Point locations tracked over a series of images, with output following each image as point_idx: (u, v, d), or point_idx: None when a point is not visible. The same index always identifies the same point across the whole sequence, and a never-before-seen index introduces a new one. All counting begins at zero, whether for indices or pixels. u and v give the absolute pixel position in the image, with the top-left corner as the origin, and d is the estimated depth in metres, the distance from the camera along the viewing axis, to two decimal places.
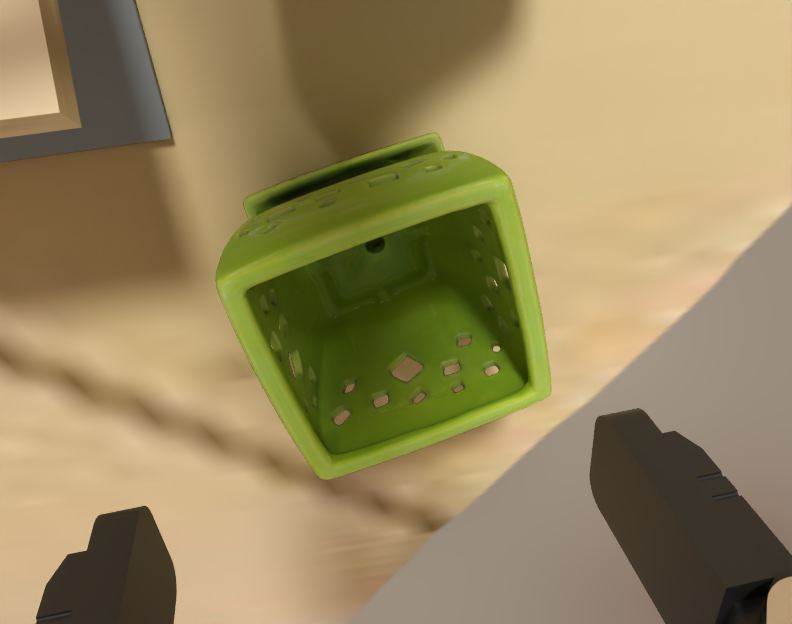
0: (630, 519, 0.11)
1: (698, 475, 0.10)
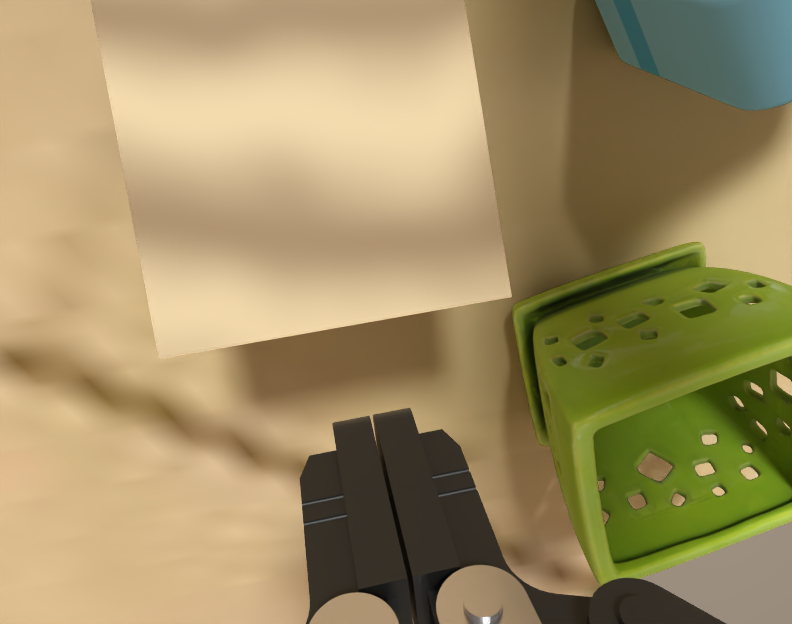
0: (391, 513, 0.11)
1: (445, 471, 0.11)
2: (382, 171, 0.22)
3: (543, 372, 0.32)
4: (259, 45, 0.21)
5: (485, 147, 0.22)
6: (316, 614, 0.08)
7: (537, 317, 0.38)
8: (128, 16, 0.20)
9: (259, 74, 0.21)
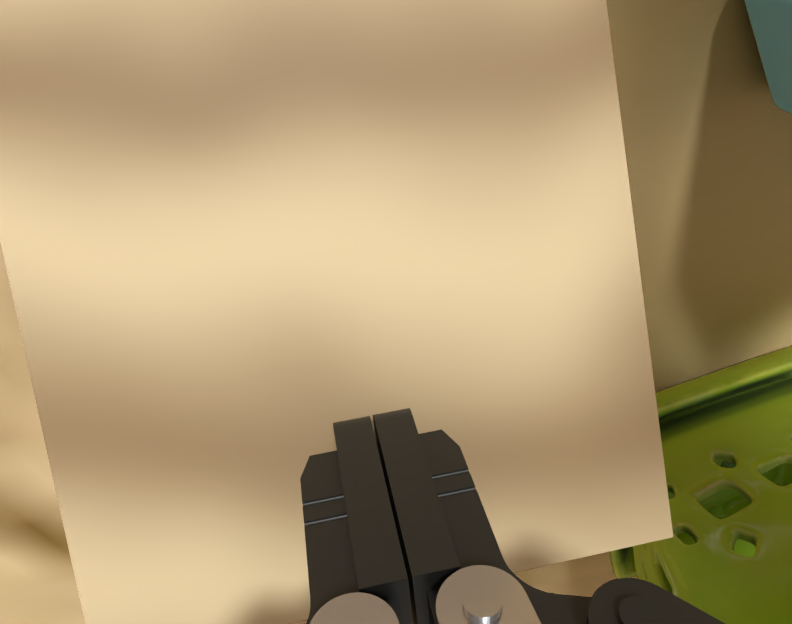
0: None
1: (445, 471, 0.11)
2: (470, 342, 0.13)
3: (662, 550, 0.22)
4: (263, 132, 0.12)
5: (639, 298, 0.13)
6: (316, 614, 0.08)
7: None
8: (28, 83, 0.11)
9: (263, 183, 0.12)
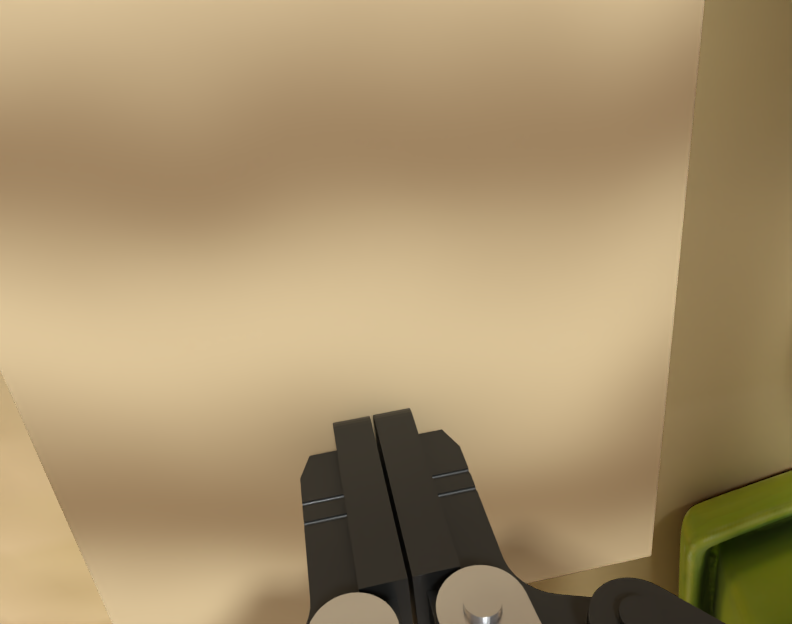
0: None
1: (445, 471, 0.11)
2: (490, 413, 0.13)
3: None
4: (280, 215, 0.10)
5: (665, 369, 0.13)
6: (316, 614, 0.08)
7: None
8: None
9: (280, 270, 0.11)
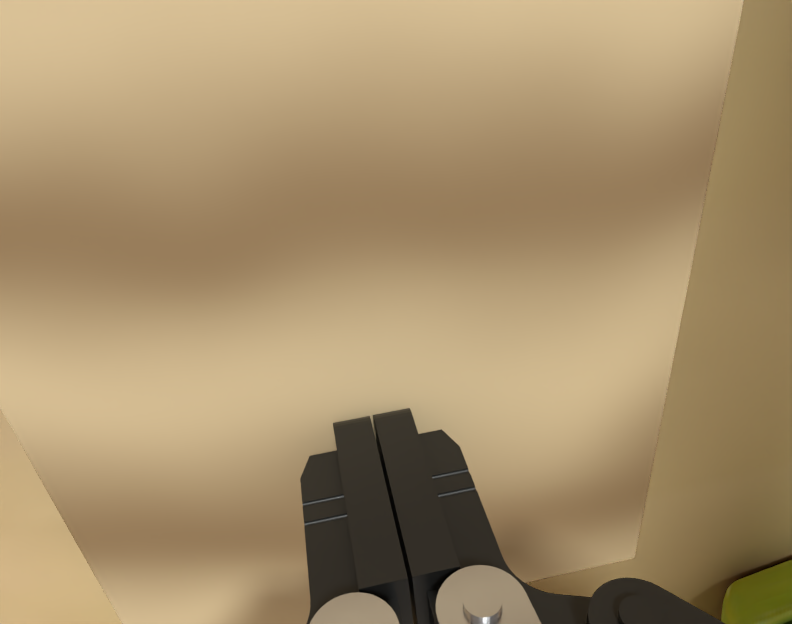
0: None
1: (445, 471, 0.11)
2: (491, 446, 0.13)
3: None
4: (289, 278, 0.10)
5: (661, 403, 0.13)
6: (316, 614, 0.08)
7: None
8: None
9: (289, 328, 0.11)
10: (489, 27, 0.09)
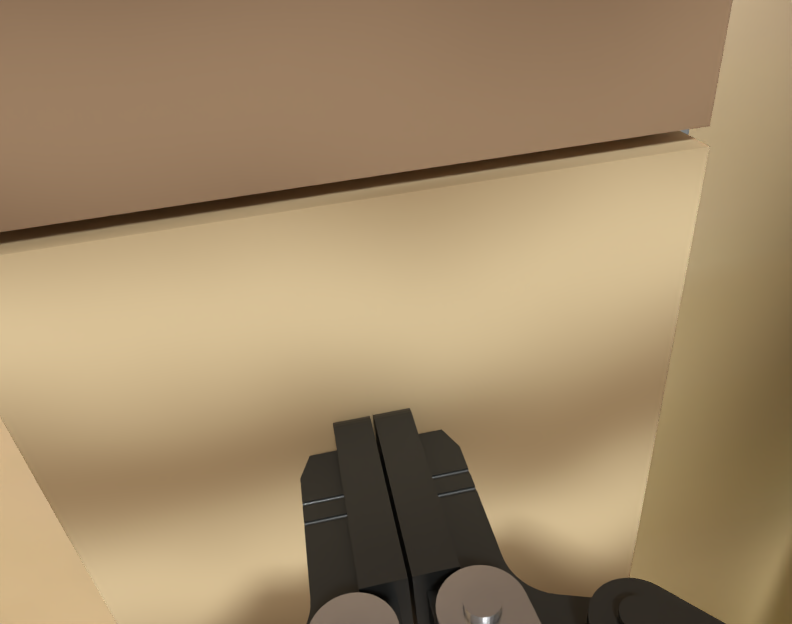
0: None
1: (445, 471, 0.11)
2: None
3: None
4: None
5: None
6: (316, 614, 0.08)
7: None
8: None
9: None
10: None
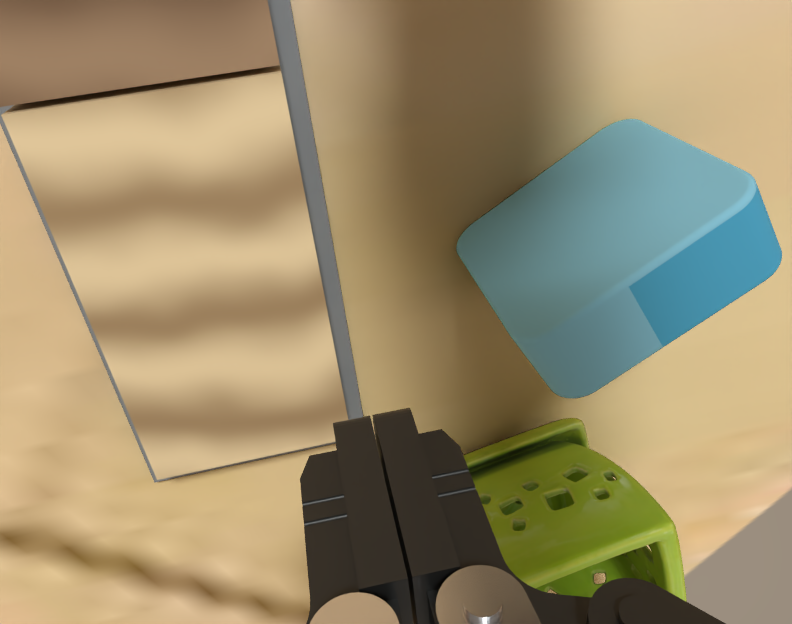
0: None
1: (445, 471, 0.11)
2: (276, 388, 0.37)
3: None
4: (197, 333, 0.34)
5: (337, 372, 0.37)
6: (316, 614, 0.08)
7: None
8: (113, 326, 0.33)
9: (199, 348, 0.35)
10: (244, 268, 0.33)
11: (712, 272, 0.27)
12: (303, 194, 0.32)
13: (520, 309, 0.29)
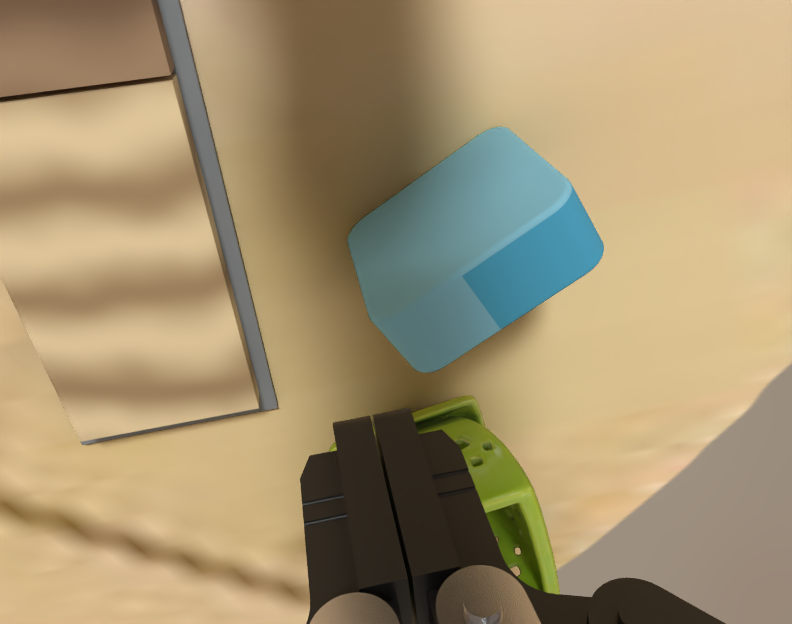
0: None
1: (445, 471, 0.11)
2: (185, 361, 0.42)
3: None
4: (109, 310, 0.39)
5: (241, 348, 0.42)
6: (316, 614, 0.08)
7: None
8: (32, 301, 0.37)
9: (112, 323, 0.39)
10: (149, 252, 0.37)
11: (536, 265, 0.31)
12: (199, 188, 0.36)
13: (379, 294, 0.34)
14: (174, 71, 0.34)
